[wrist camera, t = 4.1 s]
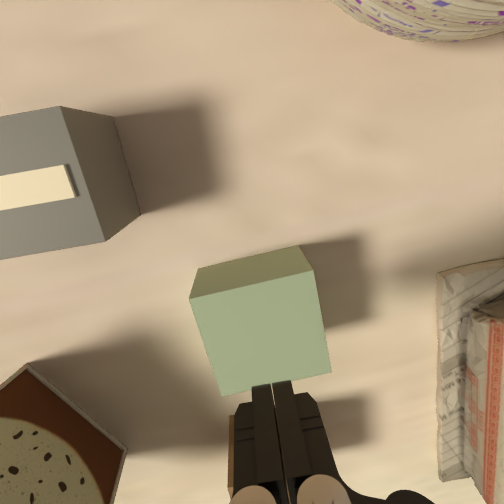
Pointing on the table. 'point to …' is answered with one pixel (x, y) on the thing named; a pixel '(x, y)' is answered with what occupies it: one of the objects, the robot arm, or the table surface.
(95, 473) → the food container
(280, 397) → the robot arm
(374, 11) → the paper bowls
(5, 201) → the charcoal striped block
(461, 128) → the table surface
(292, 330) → the plain sage block
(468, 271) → the packaged product
